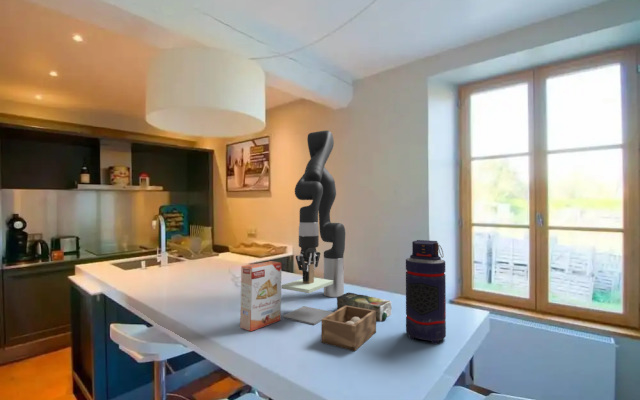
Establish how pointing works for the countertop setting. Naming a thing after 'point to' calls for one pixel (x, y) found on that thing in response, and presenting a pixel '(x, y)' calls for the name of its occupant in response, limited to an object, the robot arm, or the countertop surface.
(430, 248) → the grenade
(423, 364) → the countertop surface
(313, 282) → the lid
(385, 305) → the juice carton
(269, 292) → the cracker box
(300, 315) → the plate
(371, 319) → the egg box
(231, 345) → the countertop surface
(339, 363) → the countertop surface
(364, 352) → the countertop surface
